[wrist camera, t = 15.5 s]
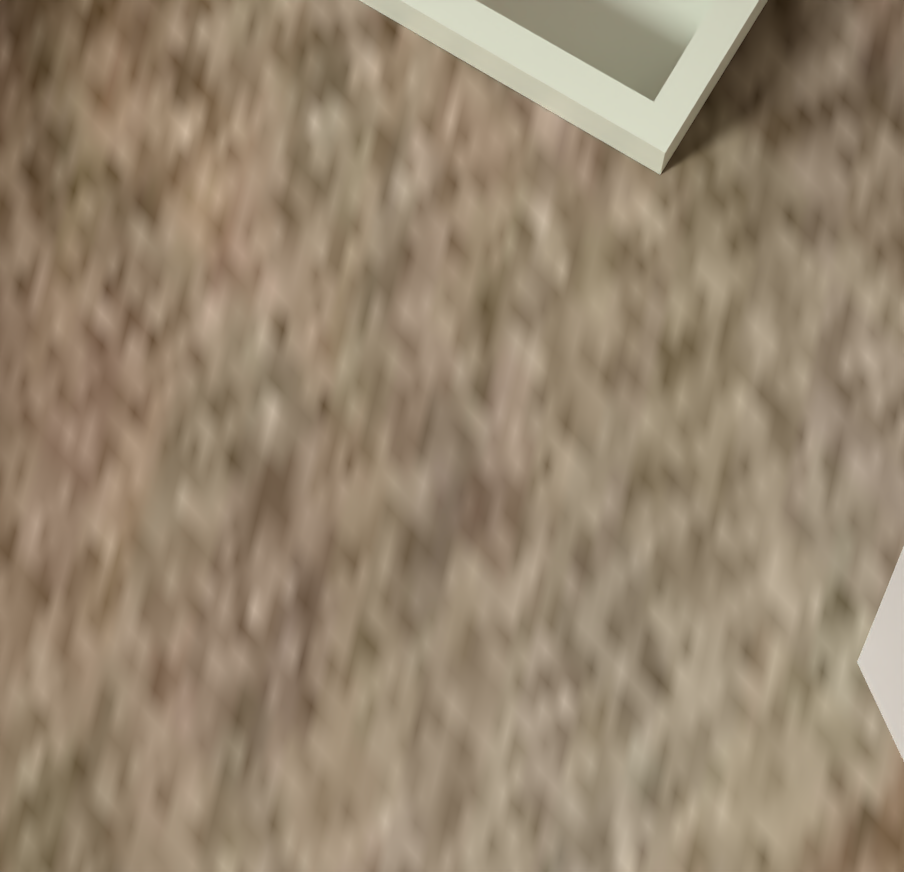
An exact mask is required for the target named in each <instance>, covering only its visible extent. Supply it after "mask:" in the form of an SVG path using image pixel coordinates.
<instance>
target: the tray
mask: <svg viewBox="0 0 904 872" xmlns="http://www.w3.org/2000/svg"><path fill="white" fill-rule="evenodd" d="M360 1H361V2H363V3H365V4H366V5H368V6H370V7H372V8H373V9H375V10H377V11H379V12H380V13H382V14H384V15H385V16H387V17H389V18H391V19H392V20H394V21H396V22H398V23H399V24H401V25H403V26H404V27H406V28H408V29H410V30H411V31H413V32H415V33H417V34H418V35H420V36H422V37H423V38H425V39H427V40H429V41H430V42H432V43H434V44H435V45H437V46H439V47H441V48H442V49H444V50H446V51H448V52H449V53H451V54H453V55H454V56H456V57H458V58H460V59H461V60H463V61H465V62H467V63H468V64H470V65H472V66H473V67H475V68H477V69H479V70H480V71H482V72H484V73H486V74H487V75H489V76H491V77H492V78H494V79H496V80H498V81H499V82H501V83H503V84H505V85H506V86H508V87H510V88H511V89H513V90H515V91H517V92H518V93H520V94H522V95H523V96H525V97H527V98H529V99H530V100H532V101H534V102H536V103H537V104H539V105H541V106H542V107H544V108H546V109H548V110H549V111H551V112H553V113H555V114H556V115H558V116H560V117H561V118H563V119H565V120H567V121H568V122H570V123H572V124H574V125H575V126H577V127H579V128H580V129H582V130H584V131H586V132H587V133H589V134H591V135H593V136H594V137H596V138H598V139H599V140H601V141H603V142H605V143H606V144H608V145H610V146H611V147H613V148H615V149H617V150H618V151H620V152H622V153H624V154H625V155H627V156H629V157H630V158H632V159H634V160H636V161H637V162H639V163H641V164H643V165H644V166H646V167H648V168H649V169H651V170H653V171H655V172H656V173H658V174H661V173H662V171H663V169H664V168H665V166H666V165H667V163H668V161H669V160H670V158H671V156H672V155H673V153H674V152H675V150H676V148H677V147H678V145H679V144H680V142H681V140H682V139H683V137H684V135H685V134H686V132H687V131H688V129H689V127H690V126H691V124H692V122H693V121H694V119H695V118H696V116H697V114H698V113H699V111H700V110H701V108H702V106H703V105H704V103H705V101H706V100H707V98H708V97H709V95H710V93H711V92H712V90H713V88H714V87H715V85H716V84H717V82H718V80H719V79H720V77H721V76H722V74H723V72H724V71H725V69H726V67H727V66H728V64H729V63H730V61H731V59H732V58H733V56H734V54H735V53H736V51H737V50H738V48H739V46H740V45H741V43H742V42H743V40H744V38H745V37H746V35H747V33H748V32H749V30H750V29H751V27H752V25H753V24H754V22H755V20H756V19H757V17H758V16H759V14H760V12H761V11H762V9H763V8H764V6H765V4H766V3H767V1H768V0H360Z"/></svg>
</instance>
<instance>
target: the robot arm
mask: <svg viewBox="0 0 904 872" xmlns="http://www.w3.org/2000/svg"><path fill="white" fill-rule="evenodd" d="M857 663H858V665H859V667H860V669H861V671H862V674H863V676H864V678H865V680H866V682H867V684H868V686H869V688H870V691H871V693H872V695H873V697H874V699H875V701H876V703H877V705H878V707H879V710H880V712H881V714H882V716H883V718H884V720H885V722H886V724H887V726H888V729H889V731H890V733H891V735H892V737H893V739H894V741H895V743H896V746H897V748H898V750H899V752H900V754H901V756H902V758H903V760H904V547H903V549H902V552H901V554H900V557H899V559H898V562H897V564H896V567H895V569H894V572H893V574H892V577H891V579H890V582H889V584H888V587H887V589H886V592H885V594H884V597H883V599H882V602H881V604H880V607H879V609H878V612H877V614H876V617H875V619H874V622H873V624H872V627H871V629H870V632H869V634H868V637H867V639H866V642H865V644H864V647H863V649H862V652H861V654H860V657H859V659H858V662H857Z"/></svg>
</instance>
